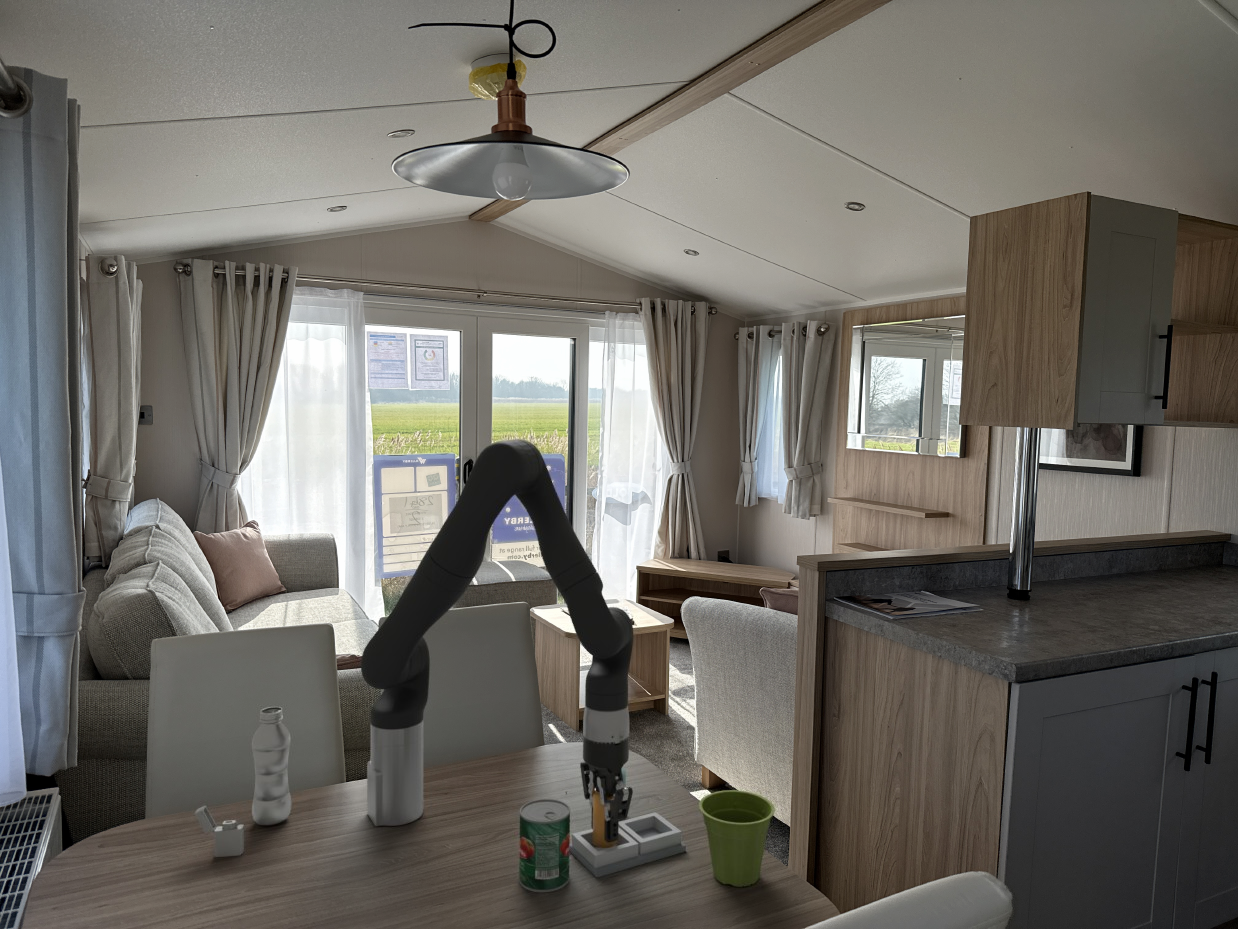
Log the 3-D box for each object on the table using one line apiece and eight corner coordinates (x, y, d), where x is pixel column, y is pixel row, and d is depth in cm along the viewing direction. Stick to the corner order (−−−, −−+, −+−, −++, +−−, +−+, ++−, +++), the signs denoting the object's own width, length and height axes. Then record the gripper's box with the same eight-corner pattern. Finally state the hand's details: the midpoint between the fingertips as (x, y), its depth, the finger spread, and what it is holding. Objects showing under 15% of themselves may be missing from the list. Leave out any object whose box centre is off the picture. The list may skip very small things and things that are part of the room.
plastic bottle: (298, 813, 150) (298, 704, 149) (279, 831, 143) (279, 717, 142) (264, 811, 151) (264, 703, 150) (244, 829, 144) (243, 715, 143)
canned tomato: (509, 876, 130) (509, 807, 130) (551, 860, 135) (552, 794, 134) (536, 899, 124) (536, 826, 123) (579, 882, 129) (580, 812, 128)
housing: (596, 877, 130) (596, 859, 130) (567, 849, 139) (568, 831, 138) (685, 851, 138) (686, 833, 138) (653, 826, 147) (653, 809, 147)
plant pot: (728, 849, 139) (729, 783, 139) (788, 877, 131) (789, 807, 131) (682, 874, 131) (683, 804, 131) (742, 906, 123) (744, 831, 122)
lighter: (244, 849, 137) (243, 802, 137) (241, 855, 135) (241, 807, 135) (197, 853, 136) (197, 805, 135) (194, 858, 134) (194, 810, 134)
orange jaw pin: (600, 850, 134) (600, 801, 133) (588, 839, 137) (588, 792, 137) (621, 844, 136) (622, 796, 135) (609, 834, 139) (610, 787, 139)
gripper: (566, 722, 140) (564, 822, 140) (607, 751, 127) (605, 860, 128) (604, 715, 144) (603, 812, 144) (648, 742, 131) (647, 848, 132)
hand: (604, 834), depth 136 cm, fingers closed on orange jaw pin, 4 cm apart
